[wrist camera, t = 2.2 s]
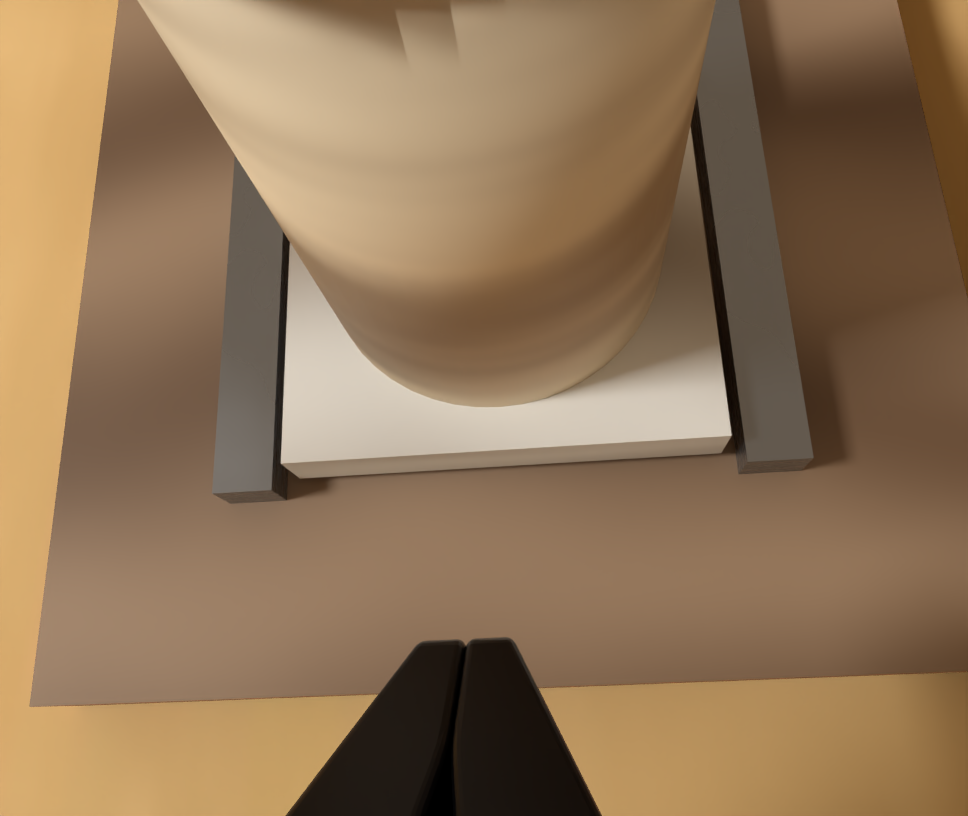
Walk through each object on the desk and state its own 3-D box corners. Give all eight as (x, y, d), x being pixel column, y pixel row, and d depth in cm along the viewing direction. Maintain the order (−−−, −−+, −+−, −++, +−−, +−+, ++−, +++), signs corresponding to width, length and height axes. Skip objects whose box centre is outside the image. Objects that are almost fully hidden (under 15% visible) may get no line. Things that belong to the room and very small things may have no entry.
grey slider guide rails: (876, 466, 14) (953, 408, 11) (164, 507, 15) (66, 464, 12) (742, -253, 19) (771, -416, 16) (222, -186, 20) (165, -330, 17)
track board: (1007, 670, 14) (1055, 667, 13) (79, 705, 15) (29, 706, 14) (801, -262, 21) (818, -331, 20) (176, -183, 23) (148, -241, 21)
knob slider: (721, 453, 14) (1177, -304, 3) (300, 478, 15) (-436, -99, 4) (675, 95, 16) (864, -1036, 6) (311, 129, 17) (-138, -836, 6)
